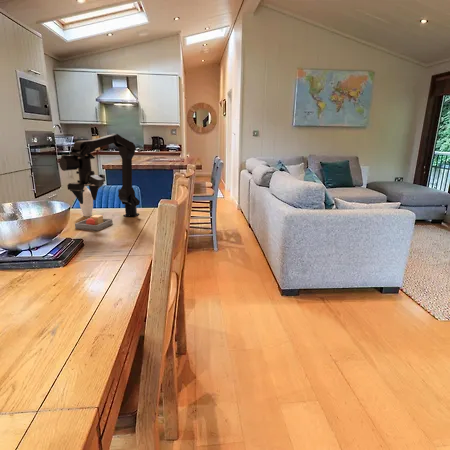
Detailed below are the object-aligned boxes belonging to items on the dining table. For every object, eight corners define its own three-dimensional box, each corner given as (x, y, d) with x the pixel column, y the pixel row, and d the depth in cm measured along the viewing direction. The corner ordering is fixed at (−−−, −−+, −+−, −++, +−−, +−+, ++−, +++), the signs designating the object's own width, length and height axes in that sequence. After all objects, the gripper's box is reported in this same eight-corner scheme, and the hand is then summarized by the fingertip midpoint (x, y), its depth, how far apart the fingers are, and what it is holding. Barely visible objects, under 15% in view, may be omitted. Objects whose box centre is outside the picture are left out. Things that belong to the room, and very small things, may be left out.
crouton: (96, 222, 156) (95, 214, 155) (103, 223, 155) (102, 215, 154) (91, 224, 152) (90, 216, 151) (98, 225, 151) (97, 217, 150)
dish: (91, 222, 158) (91, 217, 158) (112, 224, 156) (112, 219, 155) (75, 228, 147) (74, 223, 146) (97, 231, 144) (96, 225, 144)
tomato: (90, 224, 151) (89, 217, 150) (97, 225, 150) (96, 217, 149) (84, 227, 147) (83, 219, 146) (92, 228, 147) (90, 220, 145)
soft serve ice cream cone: (91, 217, 166) (88, 188, 161) (76, 217, 166) (72, 187, 161) (98, 213, 174) (95, 185, 169) (83, 213, 174) (80, 185, 169)
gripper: (86, 172, 133) (90, 207, 138) (112, 167, 151) (114, 199, 155) (64, 170, 136) (68, 205, 140) (92, 166, 153) (95, 197, 158)
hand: (88, 201), depth 148 cm, fingers open, 9 cm apart
